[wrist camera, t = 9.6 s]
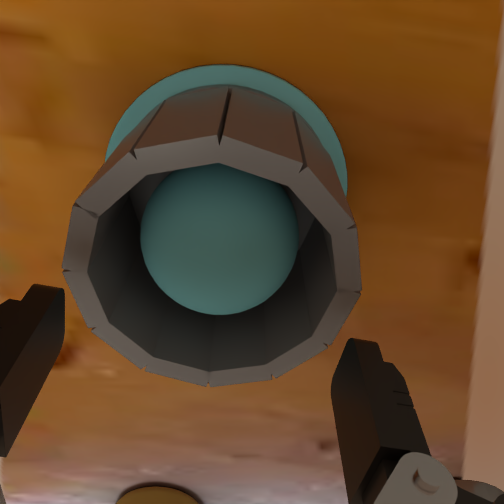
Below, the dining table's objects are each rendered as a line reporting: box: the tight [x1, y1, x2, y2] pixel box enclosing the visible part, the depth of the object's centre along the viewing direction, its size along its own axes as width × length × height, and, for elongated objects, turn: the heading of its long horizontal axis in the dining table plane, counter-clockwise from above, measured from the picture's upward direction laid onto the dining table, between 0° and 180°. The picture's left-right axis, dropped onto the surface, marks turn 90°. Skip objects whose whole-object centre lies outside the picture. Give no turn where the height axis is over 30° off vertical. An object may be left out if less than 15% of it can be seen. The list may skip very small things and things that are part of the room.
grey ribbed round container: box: [62, 64, 362, 387], centre depth 19 cm, size 11×11×7 cm
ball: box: [140, 163, 299, 315], centre depth 18 cm, size 6×6×6 cm
